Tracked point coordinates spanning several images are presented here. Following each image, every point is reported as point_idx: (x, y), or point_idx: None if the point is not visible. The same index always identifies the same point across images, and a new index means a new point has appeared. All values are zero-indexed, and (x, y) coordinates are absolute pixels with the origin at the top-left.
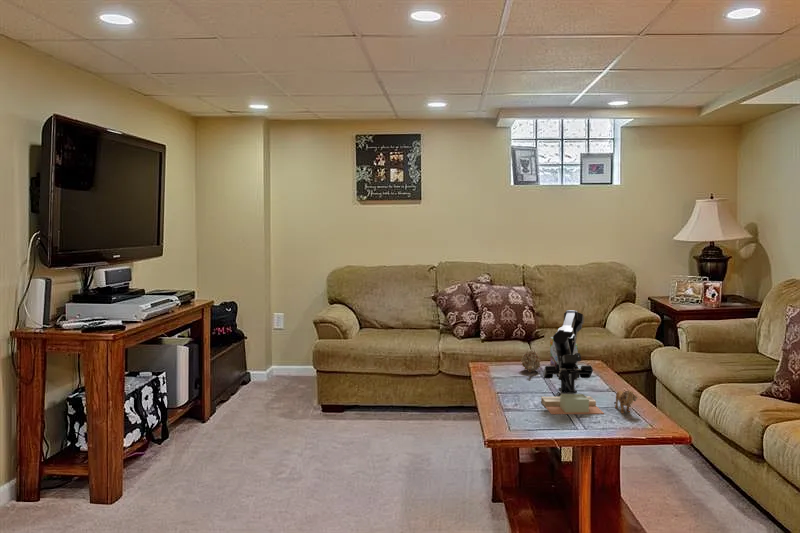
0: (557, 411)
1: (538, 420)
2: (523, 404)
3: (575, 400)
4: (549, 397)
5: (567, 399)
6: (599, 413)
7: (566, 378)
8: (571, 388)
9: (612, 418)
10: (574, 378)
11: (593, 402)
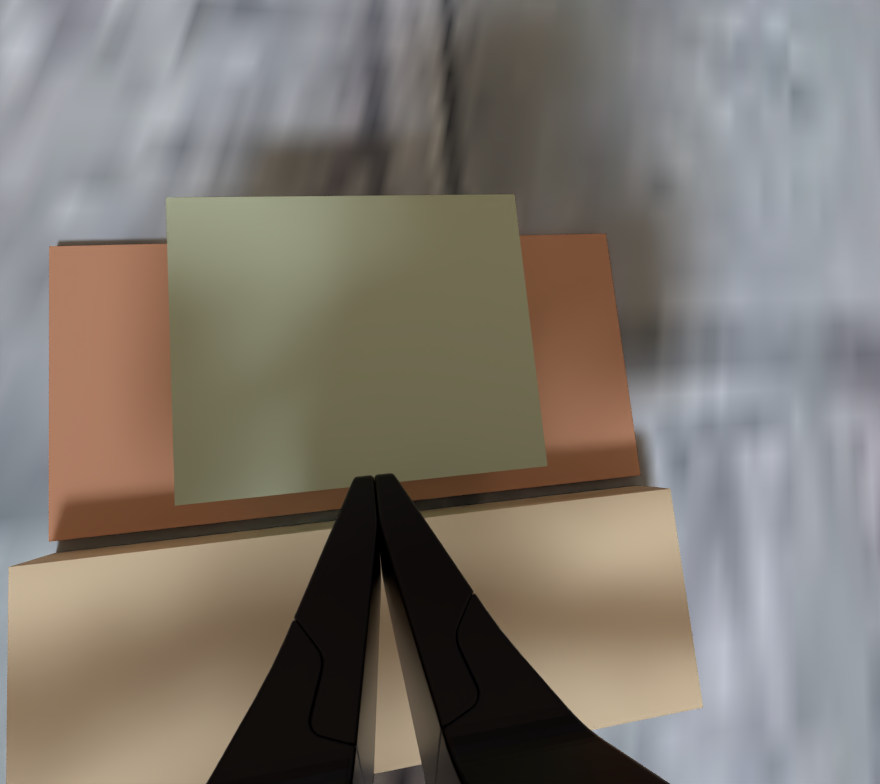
0: (543, 294)
1: (713, 81)
2: (831, 545)
3: (372, 204)
4: (611, 685)
5: (483, 198)
6: (108, 248)
7: (510, 673)
8: (379, 486)
9: (13, 102)
10: (249, 721)
11: (58, 557)
